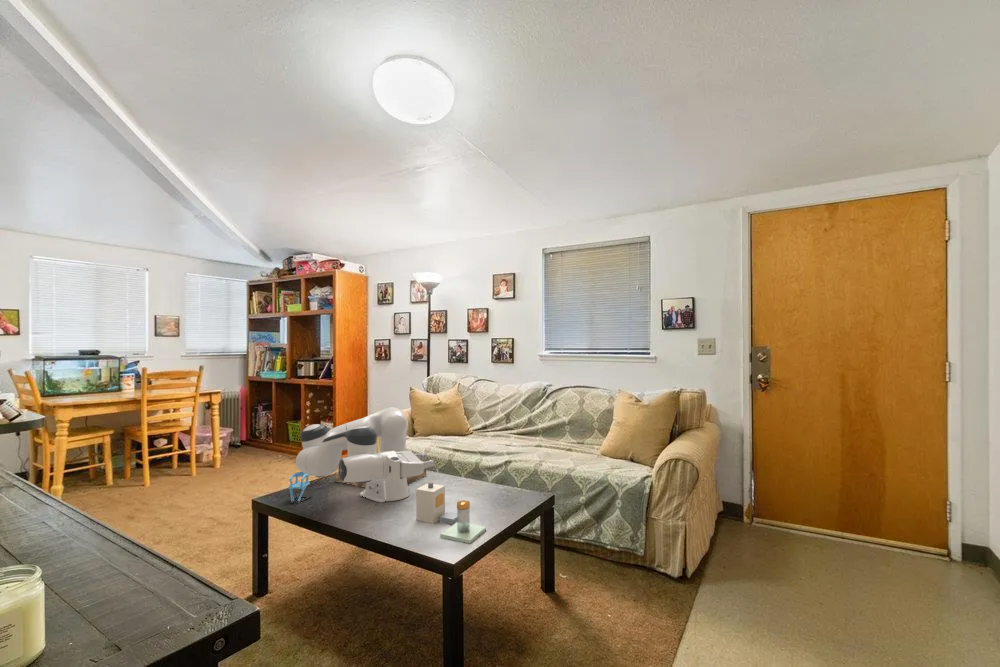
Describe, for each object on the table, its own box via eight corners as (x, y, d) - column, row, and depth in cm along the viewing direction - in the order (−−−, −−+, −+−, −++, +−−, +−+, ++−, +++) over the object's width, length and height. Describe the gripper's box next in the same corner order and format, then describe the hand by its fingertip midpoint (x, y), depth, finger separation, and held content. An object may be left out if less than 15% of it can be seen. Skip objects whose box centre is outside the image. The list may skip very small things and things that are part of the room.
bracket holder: (385, 482, 222) (384, 468, 222) (408, 472, 238) (408, 459, 238) (403, 486, 217) (403, 471, 217) (426, 475, 233) (426, 461, 233)
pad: (440, 537, 160) (440, 534, 160) (457, 524, 171) (457, 521, 171) (469, 543, 155) (469, 540, 155) (486, 530, 166) (485, 527, 166)
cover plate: (440, 523, 173) (439, 517, 173) (447, 517, 179) (447, 511, 179) (453, 526, 171) (453, 519, 171) (461, 520, 176) (461, 513, 176)
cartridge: (454, 531, 162) (454, 503, 162) (460, 527, 166) (460, 499, 166) (466, 534, 160) (466, 505, 160) (472, 529, 164) (471, 501, 164)
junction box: (416, 520, 176) (416, 484, 176) (428, 512, 183) (428, 479, 183) (434, 523, 172) (434, 487, 172) (445, 516, 179) (445, 481, 179)
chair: (285, 504, 194) (285, 476, 194) (295, 497, 203) (295, 470, 203) (303, 504, 194) (302, 476, 194) (312, 497, 202) (312, 470, 202)
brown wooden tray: (334, 482, 224) (334, 472, 224) (364, 470, 243) (364, 462, 243) (367, 488, 214) (367, 478, 214) (396, 475, 233) (396, 466, 234)
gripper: (384, 466, 162) (422, 461, 168) (396, 482, 143) (438, 476, 149) (384, 448, 162) (422, 444, 168) (396, 462, 144) (438, 457, 149)
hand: (430, 459), depth 158 cm, fingers open, 8 cm apart
